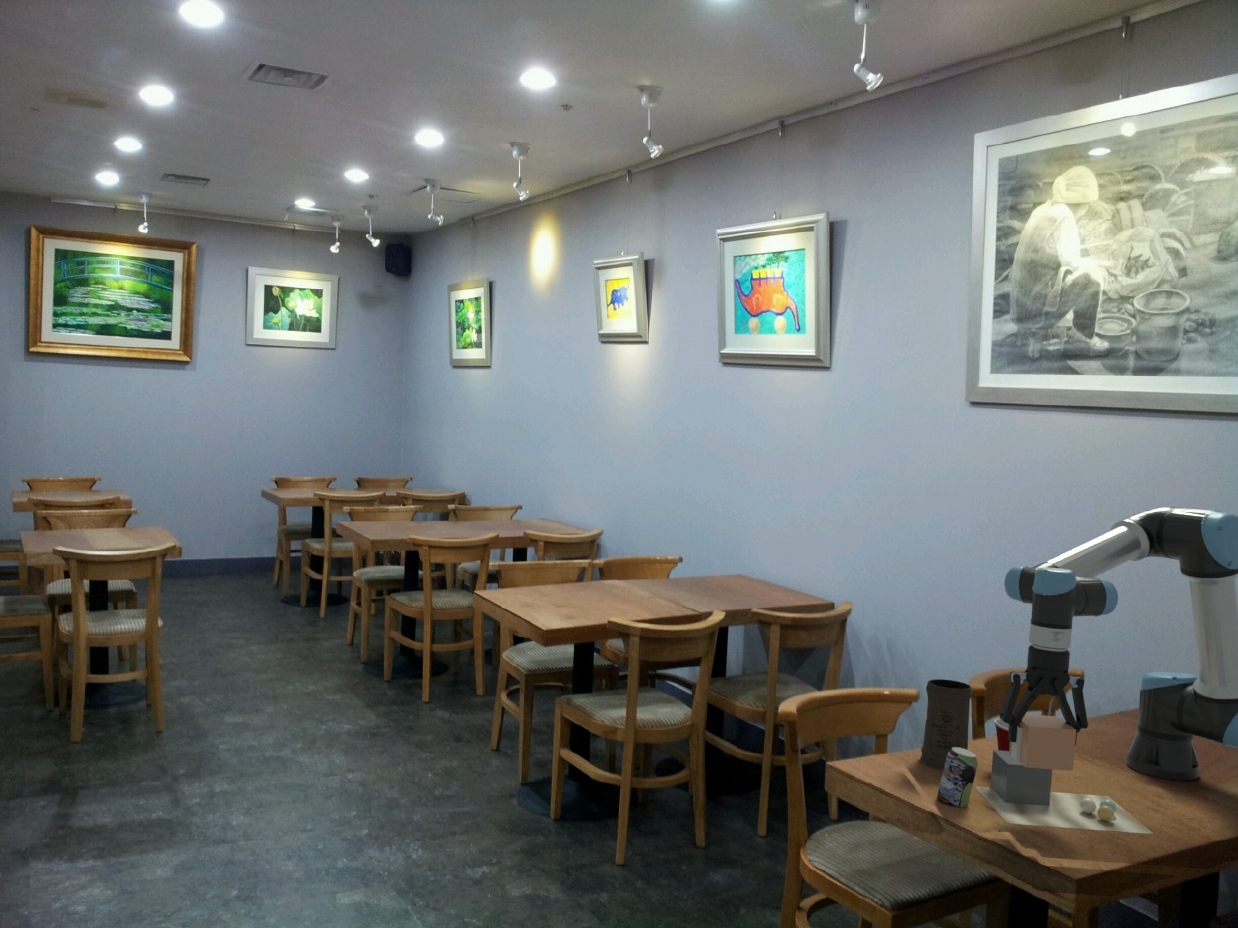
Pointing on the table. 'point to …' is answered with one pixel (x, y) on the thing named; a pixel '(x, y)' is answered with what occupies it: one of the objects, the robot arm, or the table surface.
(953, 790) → the beverage can
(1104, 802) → the marble teal
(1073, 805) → the cream cloth mat
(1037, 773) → the gray cube
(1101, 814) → the marble amber
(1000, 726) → the plastic cup
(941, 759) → the beer stein
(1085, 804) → the marble cream
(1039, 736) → the salmon pink cube
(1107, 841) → the table surface
